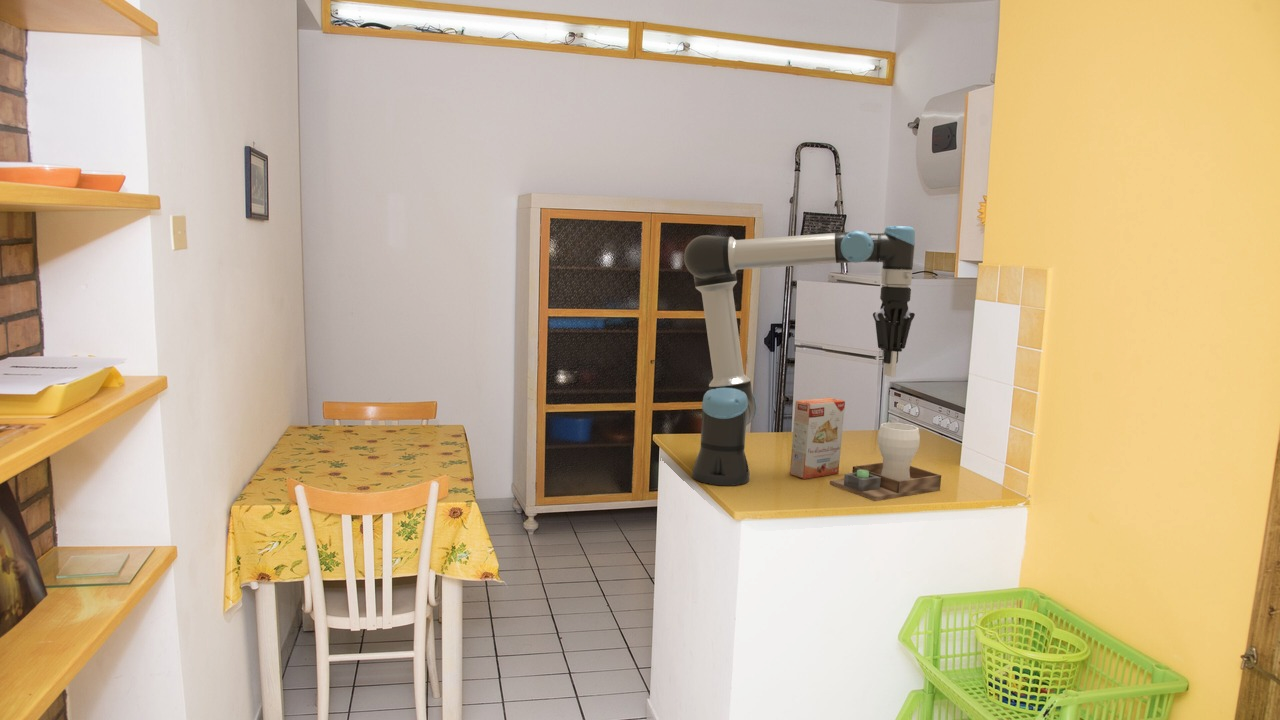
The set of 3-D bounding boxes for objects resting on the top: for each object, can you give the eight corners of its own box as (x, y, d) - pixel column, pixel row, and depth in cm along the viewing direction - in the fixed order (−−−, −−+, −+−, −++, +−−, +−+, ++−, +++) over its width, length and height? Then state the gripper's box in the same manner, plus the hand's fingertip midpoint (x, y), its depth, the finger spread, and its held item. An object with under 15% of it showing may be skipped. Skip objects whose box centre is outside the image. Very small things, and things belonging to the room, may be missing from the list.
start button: (862, 486, 217) (863, 473, 217) (853, 483, 220) (854, 470, 219) (870, 485, 219) (871, 471, 218) (861, 482, 221) (862, 469, 221)
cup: (908, 489, 219) (913, 432, 217) (868, 481, 224) (873, 426, 222) (920, 481, 227) (925, 426, 225) (881, 474, 233) (886, 420, 231)
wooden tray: (874, 500, 211) (876, 485, 210) (829, 484, 224) (830, 469, 224) (939, 490, 223) (941, 475, 223) (893, 474, 237) (894, 460, 236)
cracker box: (805, 480, 227) (810, 403, 224) (788, 475, 232) (793, 399, 229) (840, 474, 235) (846, 400, 232) (824, 469, 240) (829, 396, 237)
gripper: (888, 286, 214) (881, 378, 217) (925, 287, 220) (918, 376, 223) (867, 285, 220) (860, 374, 223) (903, 285, 227) (896, 372, 230)
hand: (889, 375), depth 223 cm, fingers closed
